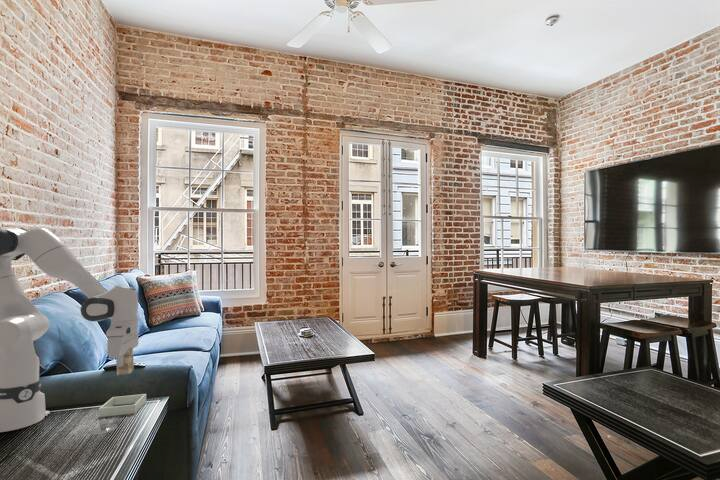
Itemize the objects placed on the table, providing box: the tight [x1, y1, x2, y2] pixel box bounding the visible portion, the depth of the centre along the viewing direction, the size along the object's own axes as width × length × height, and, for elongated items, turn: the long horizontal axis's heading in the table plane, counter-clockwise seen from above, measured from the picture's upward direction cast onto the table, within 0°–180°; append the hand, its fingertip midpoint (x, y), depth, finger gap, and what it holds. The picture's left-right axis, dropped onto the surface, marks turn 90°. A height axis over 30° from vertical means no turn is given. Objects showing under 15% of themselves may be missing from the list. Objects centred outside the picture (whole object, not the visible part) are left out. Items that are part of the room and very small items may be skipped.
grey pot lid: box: [88, 418, 119, 436], centre depth 123 cm, size 8×8×4 cm
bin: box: [98, 393, 147, 418], centre depth 140 cm, size 12×12×4 cm
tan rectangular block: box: [115, 347, 135, 376], centre depth 141 cm, size 4×4×9 cm
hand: (124, 363), depth 141 cm, fingers closed on tan rectangular block, 4 cm apart
